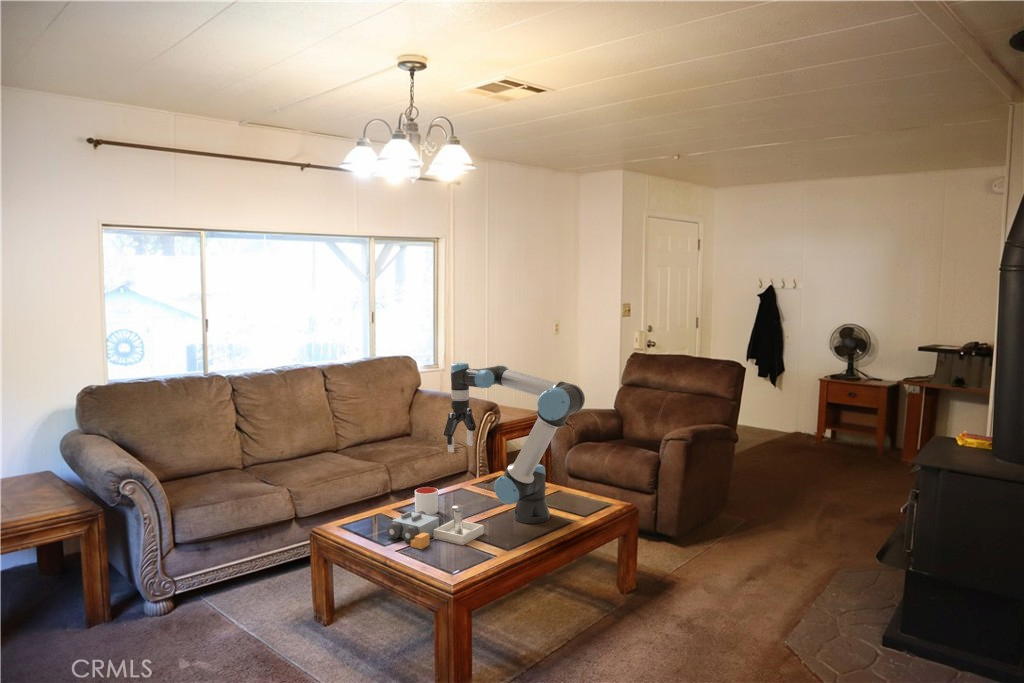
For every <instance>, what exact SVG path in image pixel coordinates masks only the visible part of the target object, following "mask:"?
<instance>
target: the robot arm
mask: <svg viewBox="0 0 1024 683" xmlns="http://www.w3.org/2000/svg"><path fill="white" fill-rule="evenodd" d="M450 384H451V385H450V390H451V393H450V395H451V396H450V397H451V403H450V405H451V406H450V408H451V409H452V410H453V412H448V414H447V416H448V417H447V421H446V425H445V428H444V432H443V436H444V437H447V440H446V441H447V442H446V444H447V452H448V453H455V437H454V434H455V432H456V429H457V427H458V425H459V424H460V423H461V422H463V424H464V426H465V427H466V428H467V430H466V446H469V447H472V446H473V445H474V441H473V440H474V438H473V437H474V431H476V428H477V424H476V421H475V419H474V415H473V412H472V411H473V409H472V408H470V400H469V399H470V388H469V387H473V388H480V389H489V388H491V387H492V386H493V385H494V386H495V385H498V386H501V387H505V388H509V389H512V390H514V391H518V392H521V393H526V394H527V395H528V394H529V395H531V396H535V397H538V400H537V410H536V415H537V419H536V420H535V422H534V425H533V427H532V429H531V430H530V433H529V434H528V436H527V438H526V440H525V442H524V443H523V446H522V447H521V450H520V451H519V453H518V455H517V457H516V458H515V461H514V462H513V463H510V464H508V466H507V468H506V470H505V472H504V474H503V475H502V476H499V477H498V478H497V479H496V480H495V481H494V485H493V488H494V492H495V496H496V498H497V499H498V500H499V502H501V503H502V504H504V505H508V506H509V505H513V504H515V507H514V511H513V519H514V520H515V521H517V522H520V523H524V524H540V523H545V522H548V520H550V509H549V507H548V503H547V500H546V475H547V474H546V467H545V465H542V464H540V461H541V459H542V457H544V454H545V452H546V450H547V449H548V447H549V444H550V443H551V441H552V439H553V437H554V436H555V434H556V432H557V430H558V429H560V428H563V427H564V426H565V424H566V423H567V420H568V419H569V417H570V415H573V414H576V413H578V412H580V411H581V410H582V409H583V407H584V405H585V402H586V398H585V394H584V391H583V390H582V388H581V387H580V386H578V385H576V384H573V383H569V382H565V381H562V380H560V381H558V382H556V381H551V380H549V379H544V378H541V377H537V376H534V375H530V374H526V373H522V372H519V371H516V370H512V369H509V367H507V366H505V365H496V366H491V367H490V366H489V367H484V368H470V365H469V363H467V362H454V363H452V364H451V365H450Z"/></svg>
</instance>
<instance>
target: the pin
mask: <svg viewBox="0 0 1024 683" xmlns="http://www.w3.org/2000/svg"><path fill="white" fill-rule="evenodd" d="M464 509H465V506H464V505H463V504H453V505H452V506H451V510H452V511H453V520H454V533H455V534H459V535H462V534H463V521H464V520H463V519H464V518H463V511H464Z"/></svg>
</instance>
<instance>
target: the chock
mask: <svg viewBox="0 0 1024 683" xmlns="http://www.w3.org/2000/svg"><path fill="white" fill-rule="evenodd" d="M430 545H431V544H430V537H429V534H428V533H424V532H423V533H421V534H419V535H417V536H415V539H413V540H411V543H410V547H412V548H415V549H419V550H423V549H424V548H427V547H428V546H430Z"/></svg>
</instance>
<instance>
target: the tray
mask: <svg viewBox="0 0 1024 683" xmlns="http://www.w3.org/2000/svg"><path fill="white" fill-rule="evenodd" d="M484 527H485V526H484V524H479V523H475V522H471V521H465V520H463V534H462V535H459V534H455V533H454V519H452V520H449V521H448V522H446V523H444V525H442V526H440V527H438V528H436V529H434V535H433V539H436V540H440V541H445V542H448V543H453V544H457V545H462V546H464V545H466V544H467V543H469V542H471V541H473V540H475V539H476V538H479V537H480V536H483V535H484V532H485V530H484Z"/></svg>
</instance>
